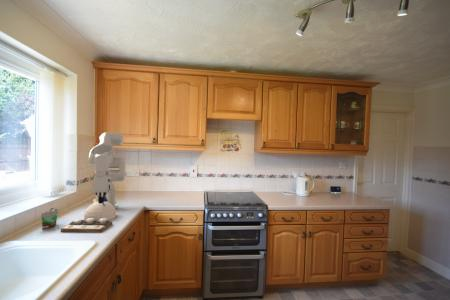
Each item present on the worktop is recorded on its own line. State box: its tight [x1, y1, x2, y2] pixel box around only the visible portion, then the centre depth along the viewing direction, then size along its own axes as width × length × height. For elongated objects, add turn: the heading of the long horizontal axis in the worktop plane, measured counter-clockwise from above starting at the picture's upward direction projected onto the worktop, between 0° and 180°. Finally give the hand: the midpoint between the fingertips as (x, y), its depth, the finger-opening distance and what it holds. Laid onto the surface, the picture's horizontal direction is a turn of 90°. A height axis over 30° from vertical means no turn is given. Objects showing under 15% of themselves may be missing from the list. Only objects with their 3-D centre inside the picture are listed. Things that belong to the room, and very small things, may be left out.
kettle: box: [83, 195, 117, 221], centre depth 154 cm, size 20×21×18 cm
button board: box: [60, 219, 113, 233], centre depth 135 cm, size 13×24×3 cm, turn 91°
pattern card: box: [61, 224, 104, 229], centre depth 131 cm, size 5×22×1 cm, turn 91°
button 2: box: [99, 218, 107, 223], centre depth 138 cm, size 4×4×2 cm
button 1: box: [73, 218, 82, 223], centre depth 137 cm, size 4×4×2 cm
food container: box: [40, 207, 59, 230], centre depth 137 cm, size 12×6×10 cm, turn 17°
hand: (101, 202), depth 137 cm, fingers closed
